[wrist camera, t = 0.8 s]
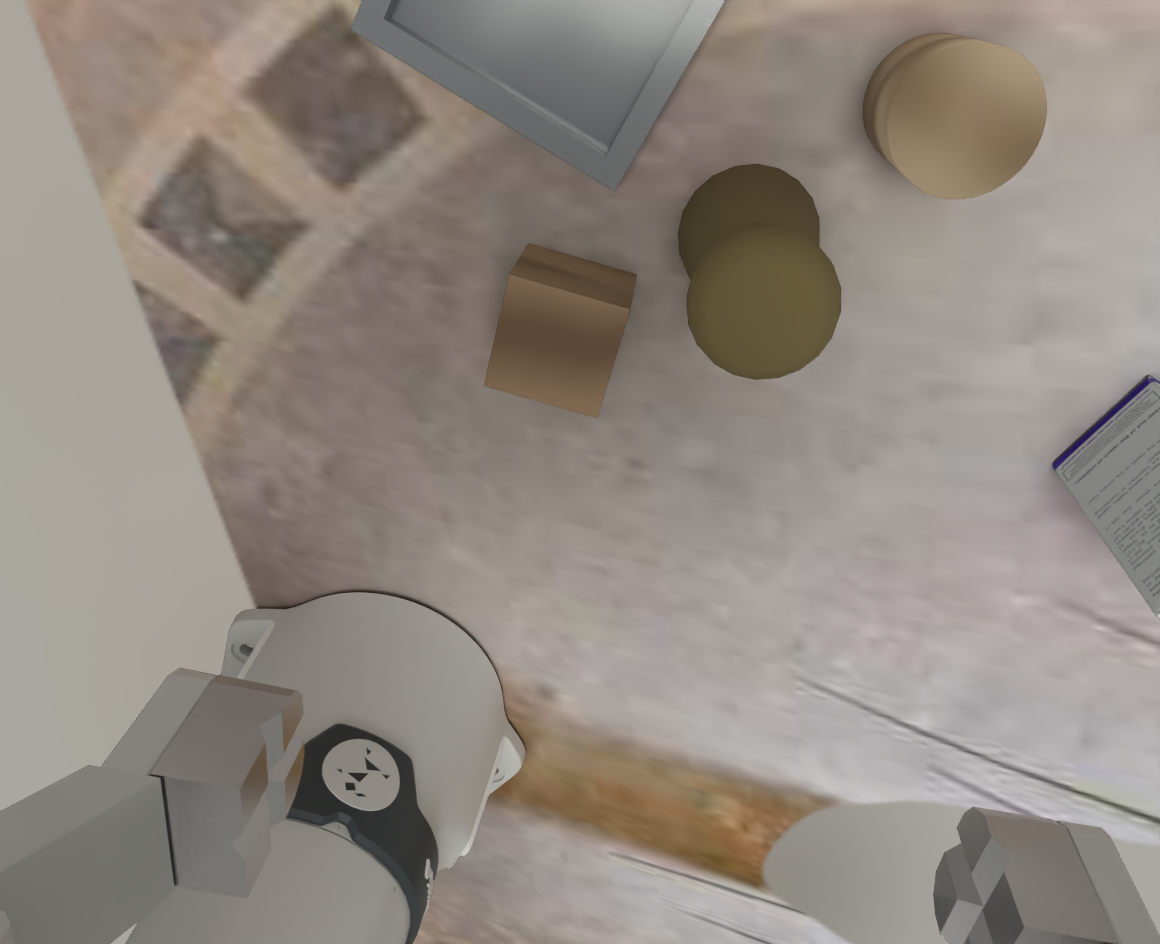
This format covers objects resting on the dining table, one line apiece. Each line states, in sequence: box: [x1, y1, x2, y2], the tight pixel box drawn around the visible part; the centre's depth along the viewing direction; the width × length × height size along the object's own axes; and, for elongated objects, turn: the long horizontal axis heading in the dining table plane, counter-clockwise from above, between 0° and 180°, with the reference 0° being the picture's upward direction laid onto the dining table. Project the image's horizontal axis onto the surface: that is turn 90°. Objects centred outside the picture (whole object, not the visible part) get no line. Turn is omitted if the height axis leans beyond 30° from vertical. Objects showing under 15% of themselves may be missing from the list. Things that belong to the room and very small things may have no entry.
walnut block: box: [484, 243, 636, 418], centre depth 40 cm, size 5×5×5 cm
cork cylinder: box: [863, 33, 1047, 199], centre depth 34 cm, size 5×5×6 cm
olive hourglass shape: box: [678, 164, 841, 380], centre depth 35 cm, size 6×6×11 cm
